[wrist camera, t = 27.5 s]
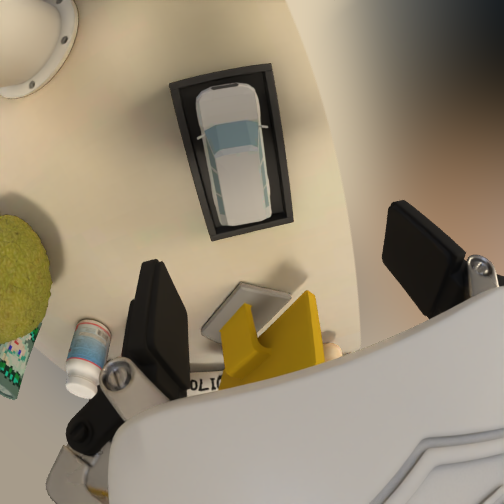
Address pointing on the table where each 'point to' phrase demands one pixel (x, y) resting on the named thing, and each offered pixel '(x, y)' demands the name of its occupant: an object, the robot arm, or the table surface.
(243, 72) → the dock pad
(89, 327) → the pill bottle
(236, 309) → the toy computer monitor
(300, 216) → the table surface
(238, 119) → the toy car
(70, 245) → the table surface
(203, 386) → the model rocket
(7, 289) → the fruit
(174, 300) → the robot arm
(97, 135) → the table surface
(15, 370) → the can
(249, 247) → the table surface
